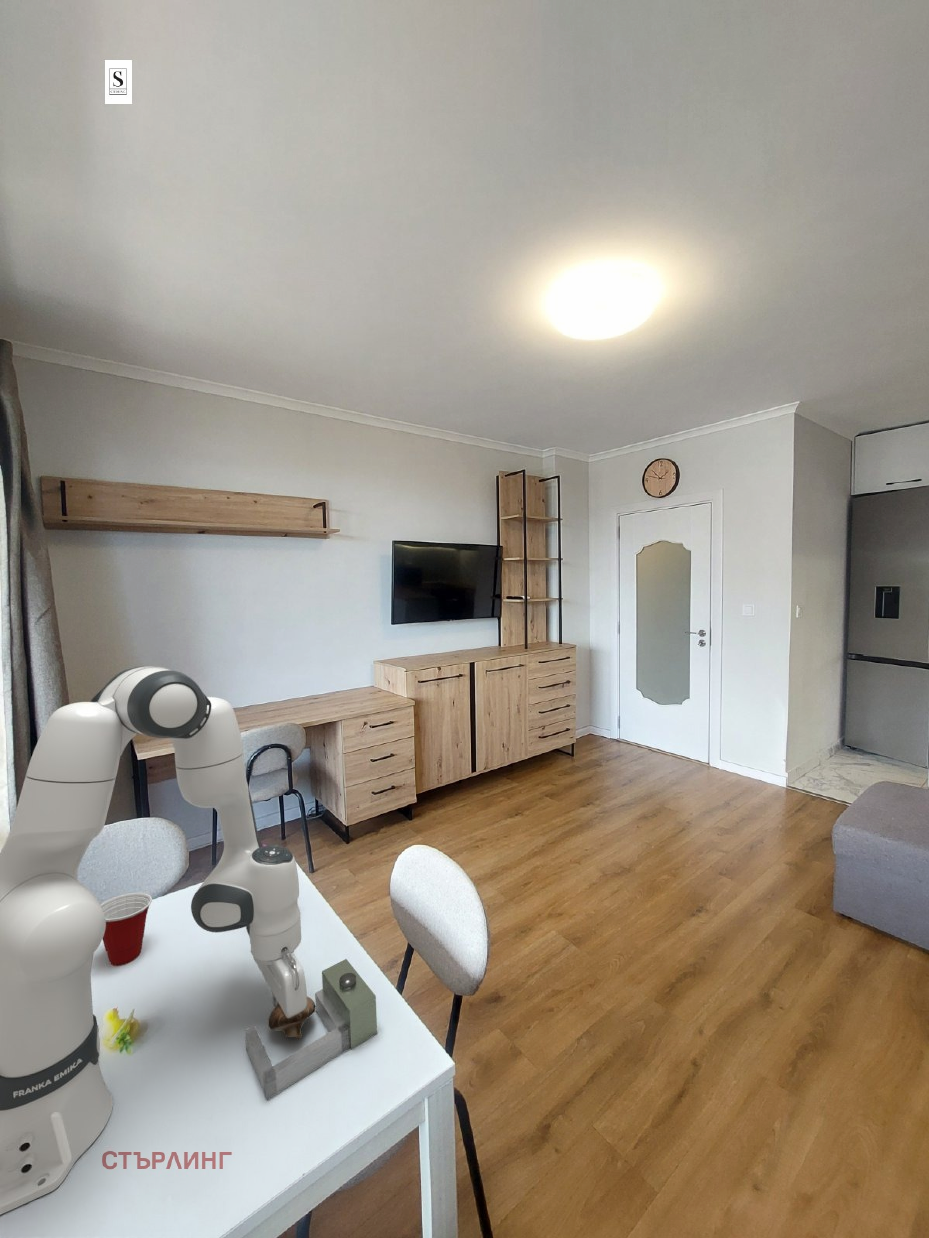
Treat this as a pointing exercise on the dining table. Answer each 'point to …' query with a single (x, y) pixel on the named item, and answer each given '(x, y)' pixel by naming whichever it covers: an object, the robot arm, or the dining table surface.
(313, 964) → the dining table surface
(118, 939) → the plastic cup
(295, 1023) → the mushroom
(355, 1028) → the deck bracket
